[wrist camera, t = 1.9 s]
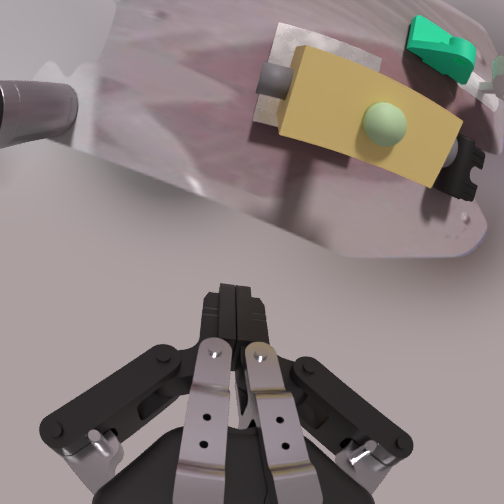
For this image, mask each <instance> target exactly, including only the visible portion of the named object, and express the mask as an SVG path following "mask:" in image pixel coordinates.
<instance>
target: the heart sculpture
mask: <svg viewBox="0 0 504 504" xmlns="http://www.w3.org/2000/svg"><path fill="white" fill-rule="evenodd" d="M457 85H458V86H460V87H461V88H463V89H464V90H466V91H467V92H469V93H470V94H471V95H473V96H474V97H476V98H477V99H478V100H480V101H481V102H482V103H484V104H485V105H486V106H487V107H489V108H490V109H491V110H492V111H494V112H495V111H496V109H497V107H498V104H499V103H498V98H500V99H502V100H504V55H502V56H498V57H497V58H496V59H495V60H494V62H493V74H492V82H485V81H484V80H483V79H482V78H480V77H479V76H478V75H476V74H475V73H474V72H472V73H471V76H470V78H469V80H468V82H467V84H466V85H461V84H459V83H458V82H457Z"/></svg>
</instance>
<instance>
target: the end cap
mask: <svg viewBox="0 0 504 504" xmlns="http://www.w3.org/2000/svg"><path fill="white" fill-rule="evenodd" d="M456 139H457V142H458V151H457V155H456V157H455V159H454V161H453V162H452V163H451V164H450V165H449V166H447V167H444V168H443V167H442V168H441V170H440V172H439V174H438V176H437V178H436V180H435V183H434V188H436V189H438V190H440V191H442V192H444V193H446V194H448V195H451V196H453V197H455V198H457V199H460V198H461V199H463V200H465V201H470V202H472V201H473V200H474V197H475V193H476V189H477V185H475V184H473V183H472V182H471V180H470V170H471V169H472V167H474V166H476V167H478V168H479V169H482V168H483V163H484V159H485V153H484V152H482V151H481V150H480V149H479V148H477V147H476V146H474V145H475V142H474V141H473V140H471V139H469V138H467V137H465V136H462V135H460V134H458V135H457V137H456Z"/></svg>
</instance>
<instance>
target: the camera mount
mask: <svg viewBox="0 0 504 504" xmlns="http://www.w3.org/2000/svg"><path fill="white" fill-rule="evenodd" d="M406 49H408V50H409V51H411V52H413V53H414V54H416V55H418V56H419V57H421V58H422V61H423V62H424V63H426V64H428V65H429V66H431V67H432V68H434V69H435V70H437V71H438V72H440V73H441V74H443V75H444V74H447V75H448V76H450V77H451V78H453V79H454V80H455V81H457V82H458V83H459V84H461V85H466V84H467V82H468V80H469V78H470V76H471V73H472V71H473V69H474V64H475V55H476V49H475V47H474V46H473V45H472V44H471V43H470V42H469V41H467V40H465V39H462V38H459V37H453V36H451V35H450V34H448V33H447V32H446V31H444V30H443V29H441V28H440V27H438V26H437V25H435V24H434V23H432V22H431V21H429V20H428V19H426V18H424V17H423V16H421V15H418V16H416V17H414V18H413V19H412V23H411V28H410V33H409V39H408V44H407V48H406Z"/></svg>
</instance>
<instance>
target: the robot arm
mask: <svg viewBox="0 0 504 504" xmlns="http://www.w3.org/2000/svg"><path fill="white" fill-rule="evenodd" d="M77 108H78V100H77V95H76V93H75V91H74V89H73V88H72V87H71V86H69V85H67V84H62V83H51V82H38V81H0V149H1V148H5V147H9V146H13V145H17V144H21V143H25V142H29V141H34V140H39V139H44V138H49V137H55V136H59V135H61V134H63V133H65V132H66V131H67V130H68V129H69V128H70V126H71V125H72V123H73V122H74V119H75V117H76V113H77ZM230 371H235V380H236V382H235V390H236V398H237V406H238V414H239V427H238V429H235V428H232V427H229V426H228V414H229V400H230V391H229V380H230ZM186 394H189V400H188V405H187V412H186V417H185V424H184V426H183V427H179V428H176V429H173V430H171V431H169V432H167V433H165V434H164V435H163V436H161V437H160V438H159V439H158V440H157V441H156V442H154V443H153V444H152V445H151V446H150V447H149V448H148V449H146V450H145V451H144V452H143V453H142V454H141V455H140V456H138V457H137V458H136V459H135V460H134V461H133V462H131V463H130V464H129V465H128V466H127V467H125V468H124V469H123V470H122V471H121V472H120V473H118V474H117V475H116V476H115V469H116V467H117V465H118V464H119V463H120V462H121V460H122V459H123V455H124V451H123V448H122V446H121V443H122V442H123V441H125V440H126V439H127V438H129V437H130V436H131V435H133V434H134V433H135V432H136V431H138V430H139V429H140V428H141V427H143V426H144V425H145V424H147V423H148V422H149V421H150V420H152V419H153V418H154V417H155V416H157V415H158V414H159V413H160V412H162V411H163V410H164V409H165V408H167V407H168V406H169V405H170V404H172V403H173V402H174V401H175V400H176V399H177V398H178V397H179V396H180V395H186ZM301 426H302V427H303V428H304V429H305V430H307V431H308V432H309V433H310V434H311V435H312V436H313V437H315V438H316V439H317V440H318V441H319V442H320V443H321V444H322V445H324V446H325V447H326V448H327V449H328V450H329V451H331V452H332V453H333V454H334V455H335V456H336V458H335V462H336V463H334V462H333V461H332V460H331V459H330V458H329V457H328V456H327V455H326V454H324V453H323V452H322V451H321V450H320V449H319V448H318V447H317V446H316V445H315V444H314V443H313V442H311V441H310V440H309V439H307V438H306V437H305V436H303V433H302V429H301ZM39 431H40V436H41V438H42V440H43V441H44V443H46V444H47V445H48V446H49V447H50V448H52V449H53V450H54V451H55V452H56V453H57V454H59V455H60V456H61V457H63V458H64V459H65V461H66V462H67V463H68V465H69V466H70V467H71V469H72V470H73V471H74V472H75V473H76V475H77V476H78V477H79V478H80V480H81V481H82V482H83V483H84V484H85V485H86V487H87V488H88V489H89V490H90V491H91V492H92V493H93V494H94V497H93V501H92V504H375V502H374V499H373V497H372V493H373V492H374V491H375V490H376V488H377V487H378V486H379V484H380V483H381V482H382V480H383V479H384V478H385V476H386V475H387V473H388V472H389V470H390V469H391V468H392V466H394V465H396V464H397V463H398V462H399V461H401V460H403V459H404V458H406V457H408V456H409V455H410V454H411V453H412V450H413V441H412V438H411V437H410V436H409V435H408V434H407V433H406V432H405V431H403V430H402V429H401V428H399V427H398V426H397V425H396V424H394V423H393V422H392V421H390V420H389V419H388V418H387V417H385V416H384V415H383V414H382V413H380V412H379V411H378V410H377V409H375V408H374V407H373V406H372V405H370V404H369V403H368V402H367V401H365V400H364V399H363V398H362V397H361V396H359V395H358V394H357V393H356V392H354V391H353V390H352V389H351V388H349V387H348V386H347V385H346V384H345V383H343V382H342V381H341V380H340V379H339V378H338V377H336V376H335V375H334V374H333V373H332V372H330V371H329V370H328V369H327V368H326V367H324V366H323V365H322V364H321V363H320V362H319V361H317V360H316V359H314V358H312V357H300V358H298V359H297V360H296V361H295V362H294V361H290V360H287V359H284V358H282V357H280V356H278V355H277V354H276V351H275V350H274V348H273V347H271V346H270V344H269V337H268V329H267V322H266V315H265V306H264V304H263V303H262V301H261V300H260V298H253V297H251V288H250V287H246V286H238V285H236V286H235V285H230V284H223V283H220V287H219V293H212V292H209V293H208V294H207V295H206V297H205V298H204V302H203V310H202V319H201V328H200V339H199V341H198V343H197V344H196V345H195V346H193V347H192V348H189V349H185V350H179V351H178V350H176V349H175V348H174V347H172V346H170V345H165V344H160V345H156V346H154V347H152V348H151V349H149V350H148V351H146V352H145V353H143V354H142V355H140V356H139V357H137V358H136V359H134V360H133V361H131V362H130V363H128V364H127V365H125V366H124V367H122V368H121V369H119V370H118V371H116V372H115V373H113V374H112V375H110V376H109V377H107V378H106V379H104V380H103V381H101V382H99V383H98V384H96V385H95V386H93V387H92V388H90V389H89V390H87V391H86V392H84V393H83V394H81V395H79V396H78V397H76V398H75V399H73V400H72V401H70V402H69V403H67V404H65V405H64V406H62V407H61V408H59V409H58V410H56V411H54V412H53V413H51V414H50V415H48V416H46V417H45V418H44V419H43V420H42V422H41V424H40V428H39Z"/></svg>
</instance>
